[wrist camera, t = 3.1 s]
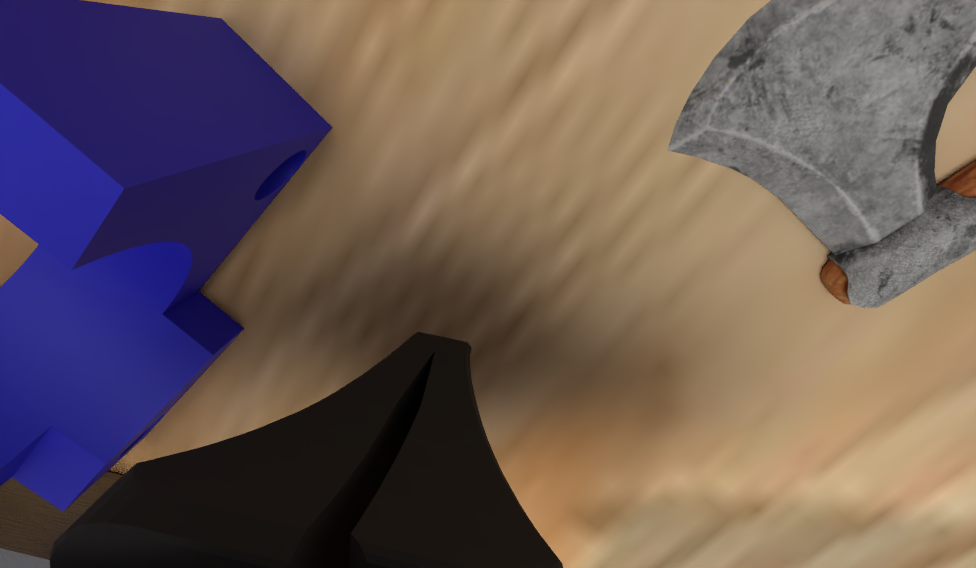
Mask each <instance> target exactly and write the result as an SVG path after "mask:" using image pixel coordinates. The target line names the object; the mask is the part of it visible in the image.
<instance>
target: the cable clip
mask: <svg viewBox="0 0 976 568" xmlns="http://www.w3.org/2000/svg"><path fill="white" fill-rule="evenodd" d="M331 128H332V127H331V126H330V125H329V124H328V123H327V122H326V121H325V120H324V119H323V118H322V117H321V116H320V115H319V114H318V113H317V112H316V111H315V110H314V109H313V108H312V107H311V106H310V105H309V104H308V103H307V102H306V101H305V100H304V99H303V98H302V97H301V96H300V95H299V94H298V93H297V92H296V91H295V90H294V89H293V88H292V87H291V86H290V85H289V84H288V83H286V82H285V81H284V80H283V79H282V78H281V77H280V76H279V75H278V74H277V73H276V72H275V71H274V70H273V69H272V68H271V67H270V66H269V65H268V64H267V63H266V62H265V61H264V60H263V59H262V58H261V57H260V56H259V55H258V54H257V53H256V52H255V51H254V50H253V49H252V48H251V47H250V46H249V45H248V44H247V43H246V42H245V41H244V40H243V39H242V38H241V37H240V36H239V35H238V34H237V33H235V32H234V31H233V30H232V29H231V28H230V27H229V26H228V25H227V24H226V23H225V22H224V21H223V20H222V19H220V18H213V17H205V16H197V15H190V14H182V13H174V12H167V11H159V10H151V9H144V8H136V7H128V6H121V5H113V4H105V3H98V2H90V1H82V0H0V214H1V215H3V216H4V217H5V218H6V219H8V220H9V221H10V222H12V223H13V224H14V225H15V226H17V227H18V228H19V229H20V230H22V231H23V232H24V233H25V234H27V235H28V236H29V237H31V238H32V239H33V240H34V241H36V242H37V243H38V244H39V245H38V247H37V248H36V249H35V250H34V252H33V253H32V254H31V255H30V256H29V258H28V259H27V260H26V261H25V262H24V263H23V265H22V266H21V267H20V268H19V269H18V270H17V271H16V272H15V273H14V274H13V275H12V276H11V277H10V278H9V279H8V280H7V281H6V282H5V283H4V284H3V285H2V286H1V287H0V486H1V485H2V484H4V483H5V482H6V481H8V480H9V479H10V478H14V479H15V480H17V481H18V482H20V483H21V484H23V485H24V486H26V487H27V488H29V489H30V490H32V491H33V492H35V493H36V494H38V495H39V496H41V497H42V498H44V499H45V500H47V501H48V502H50V503H51V504H53V505H54V506H56V507H57V508H59V509H60V510H62V511H64V510H65V509H67V508H68V507H69V506H70V505H71V504H72V503H73V502H74V501H75V500H76V499H77V498H79V497H80V496H81V495H82V494H83V493H84V492H85V491H86V490H87V489H88V488H89V487H91V486H92V485H93V484H94V483H95V482H96V481H97V480H98V479H99V478H100V477H101V476H103V475H104V474H105V473H106V472H107V471H108V470H109V469H110V468H111V467H112V466H114V465H115V464H116V463H117V462H118V461H119V460H120V459H121V458H122V457H123V456H124V455H126V454H127V453H128V452H129V451H130V450H131V449H132V448H133V447H134V446H135V445H136V444H138V443H139V442H140V441H141V440H142V439H143V438H144V437H145V436H146V435H147V434H148V433H149V432H150V431H151V429H152V428H153V427H154V426H155V425H156V424H157V423H158V422H159V421H160V420H161V419H162V417H163V416H164V415H165V414H166V413H167V412H168V411H169V410H170V409H171V408H172V407H173V405H174V404H175V403H176V402H177V401H178V400H179V399H180V398H181V397H182V396H183V395H184V393H185V392H186V391H187V390H188V389H189V388H190V387H191V386H192V385H193V384H194V383H195V382H196V380H197V379H198V378H199V377H200V376H201V375H202V374H203V373H204V372H205V371H206V370H207V368H208V367H209V366H210V365H211V364H212V363H213V362H214V361H215V360H216V359H217V358H218V356H219V355H220V354H221V353H222V352H223V351H224V350H225V349H226V348H227V347H228V346H229V344H230V343H231V342H232V341H233V340H234V339H235V338H236V337H237V336H238V335H239V334H240V332H241V331H242V330H243V329H244V328H243V327H241V326H240V325H239V324H238V323H237V322H235V321H234V320H233V319H232V318H231V317H229V316H228V315H227V314H226V313H224V312H223V311H222V310H221V309H220V308H218V307H217V306H216V305H215V304H214V303H212V302H211V301H210V300H209V299H207V298H206V297H205V296H204V295H203V294H201V293H200V292H199V290H200V288H201V287H202V286H203V285H204V284H205V282H206V281H207V280H208V279H209V278H210V276H211V275H212V274H213V273H214V271H215V270H216V269H217V268H218V267H219V265H220V264H221V263H222V262H223V260H224V259H225V258H226V257H227V256H228V254H229V253H230V252H231V251H232V249H233V248H234V247H235V246H236V245H237V243H238V242H239V241H240V240H241V238H242V237H243V236H244V235H245V234H246V232H247V231H248V230H249V229H250V227H251V226H252V225H253V224H254V223H255V221H256V220H257V219H258V218H259V216H260V215H261V214H262V213H263V212H264V210H265V209H266V208H267V207H268V205H269V204H270V203H271V202H272V201H273V199H274V198H275V197H276V196H277V194H278V193H279V192H280V191H281V190H282V188H283V187H284V186H285V185H286V183H287V182H288V181H289V180H290V179H291V177H292V176H293V175H294V174H295V172H296V171H297V170H298V169H299V168H300V166H301V165H302V164H303V163H304V161H305V160H306V159H307V158H308V157H309V155H310V154H311V153H312V152H313V150H314V149H315V148H316V147H317V146H318V144H319V143H320V142H321V141H322V139H323V138H324V137H325V136H326V135H327V133H328V132H329V131H330V130H331Z"/></svg>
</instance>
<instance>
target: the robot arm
mask: <svg viewBox="0 0 976 568" xmlns="http://www.w3.org/2000/svg"><path fill="white" fill-rule="evenodd" d="M470 353H471V346H470V345H469V344H468V343H467V342H463V341H458V340H453V339H449V338H444V337H439V336H435V335H430V334H425V333H421V332H418V333H416V334H414V335H413V336H412V337H410V338H409V339H408V340H407V341H406V342H404V343H403V344H402V345H401V346H400V347H399V348H397V349H396V350H395V351H394V352H392V353H391V354H390V355H389V356H387V357H386V358H385V359H383V360H382V361H381V362H379V363H378V364H377V365H375V366H374V367H373V368H371V369H370V370H368V371H367V372H366V373H364V374H363V375H361V376H360V377H358V378H357V379H355V380H354V381H352V382H350V383H349V384H347V385H346V386H344V387H343V388H341V389H340V390H338V391H336V392H335V393H333V394H331V395H330V396H328V397H326V398H324V399H322V400H321V401H319V402H317V403H315V404H313V405H311V406H309V407H307V408H305V409H303V410H301V411H299V412H297V413H294V414H292V415H289V416H287V417H285V418H282V419H280V420H278V421H275V422H273V423H271V424H268V425H266V426H263V427H261V428H258V429H256V430H253V431H250V432H247V433H244V434H242V435H239V436H236V437H233V438H230V439H227V440H223V441H220V442H217V443H214V444H211V445H207V446H204V447H200V448H197V449H193V450H189V451H185V452H181V453H177V454H173V455H169V456H165V457H161V458H157V459H153V460H149V461H145V462H140V463H137V464H136V465H134V466H133V467H132V468H131V469H130V470H129V471H127V472H126V473H125V474H124V475H123V476H122V477H121V478H119V479H118V480H117V481H116V482H115V483H114V484H113V485H112V486H110V487H109V488H108V489H107V490H106V491H105V492H104V493H103V494H102V495H101V496H100V497H99V498H98V499H97V500H96V501H95V502H94V503H93V504H92V505H91V506H90V507H89V508H88V509H87V510H86V511H85V512H84V513H83V514H82V515H81V516H80V517H79V518H78V519H77V520H76V521H75V522H74V523H73V524H72V525H71V526H70V527H69V528H68V529H67V530H66V531H65V532H64V533H63V534H62V535H61V536H60V537H59V538H58V539H57V540H55V541H54V544H53V547H52V550H51V553H50V556H49V560H50V568H563V566H562V563H561V561H560V560H559V559H558V557H557V556H556V555H555V554H554V552H553V551H552V550H551V548H550V547H549V546H548V545H547V543H546V542H545V541H544V539H543V538H542V537H541V535H540V534H539V533H538V531H537V530H536V528H535V527H534V525H533V524H532V522H531V521H530V519H529V518H528V516H527V515H526V513H525V512H524V510H523V509H522V507H521V505H520V504H519V502H518V500H517V498H516V496H515V495H514V493H513V491H512V489H511V488H510V486H509V484H508V482H507V480H506V479H505V477H504V475H503V473H502V471H501V469H500V467H499V465H498V462H497V460H496V458H495V456H494V454H493V451H492V449H491V446H490V444H489V441H488V439H487V436H486V433H485V430H484V427H483V425H482V421H481V418H480V415H479V411H478V407H477V403H476V399H475V395H474V390H473V385H472V379H471V370H470Z"/></svg>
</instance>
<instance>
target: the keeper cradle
mask: <svg viewBox="0 0 976 568" xmlns="http://www.w3.org/2000/svg"><path fill="white" fill-rule="evenodd" d="M122 476H123V475H120V474H116V473H112V472H106V473H105V474H104V475H103V476H101V477H100V478H99V479H98V480H97V481H96V482H95V483H94V484H93V485H92V486H91V487H89V488H88V489H87V490H86V491H85V492H84V493H83V494H82V495H81V496H80V497H79V498H77V499H76V500H75V501H74V502H73V503H72V504H71V505H70V506H69V507H68V508H67V509H65V510H64V511H62V510H60V509H59V508H57V507H56V506H54V505H53V504H51V503H50V502H48V501H47V500H45V499H44V498H42V497H41V496H39V495H38V494H36V493H35V492H33V491H32V490H30V489H29V488H27V487H26V486H24V485H23V484H21V483H20V482H18V481H17V480H15V479H14V478H10V479H9V480H8V481H6V482H5V483H4V484H2V485H1V486H0V568H50V560H49V556H50V553H51V550H52V547H53V544H54V541H55V540H57V539H58V538H59V537H60V536H61V535H62V534H63V533H64V532H65V531H66V530H67V529H68V528H69V527H70V526H71V525H72V524H73V523H74V522H75V521H76V520H77V519H78V518H79V517H80V516H81V515H82V514H83V513H84V512H85V511H86V510H87V509H88V508H89V507H90V506H91V505H92V504H93V503H94V502H95V501H96V500H97V499H98V498H99V497H100V496H101V495H102V494H103V493H104V492H105V491H106V490H107V489H108V488H109V487H110V486H112V485H113V484H114V483H115V482H116V481H117V480H118V479H119V478H121V477H122Z"/></svg>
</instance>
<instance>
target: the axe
mask: <svg viewBox="0 0 976 568" xmlns="http://www.w3.org/2000/svg"><path fill="white" fill-rule="evenodd" d="M975 66H976V0H771V1H770V2H769V3H767V4H766V5H765V6H764V7H762V8H761V9H760V10H759V11H758V12H756V13H755V14H754V15H752V16H751V17H750V18H749V19H748V20H747V21H746V22H745V24H744V25H743V26H742V27H741V28H740V29H739V30H738V31H737V33H736V34H735V35H734V36H733V37H732V38H731V39H730V41H729V42H728V43H727V44H726V45H725V46H724V47H723V49H722V50H721V51H720V52H719V53H718V54H717V55H716V56H715V57H714V59H713V60H712V62H711V63H710V65H709V67H708V68H707V70H706V71H705V73H704V74H703V76H702V77H701V79H700V80H699V82H698V83H697V85H696V86H695V88H694V89H693V91H692V92H691V94H690V96H689V98H688V100H687V102H686V104H685V106H684V108H683V110H682V112H681V114H680V116H679V118H678V120H677V123H676V125H675V128H674V131H673V135H672V138H671V141H670V144H669V147H668V151H673V152H677V153H681V154H686V155H691V156H695V157H700V158H702V159H704V160H707V161H710V162H713V163H716V164H719V165H722V166H726V167H729V168H732V169H734V170H736V171H738V172H740V173H742V174H744V175H746V176H748V177H750V178H752V179H754V180H755V181H756V182H758V183H759V184H761V185H762V186H763V187H765V188H766V189H768V190H769V191H770V192H772V193H773V194H775V195H776V196H777V197H779V198H780V199H781V200H782V201H783V202H784V203H785V204H786V205H787V206H788V207H789V208H790V209H791V210H792V211H793V212H794V213H795V214H796V215H797V216H798V217H799V218H800V219H801V220H802V221H803V223H804V224H805V225H806V226H807V227H808V228H809V229H810V230H811V231H812V232H813V233H814V234H815V235H816V236H817V237H818V238H819V239H820V240H821V241H822V242H823V243H824V244H825V245H826V246H827V247H828V248H829V249H830V250H831V251H832V253H831V254H830V255H828V256H827V258H828V259H829V261H828V263H827V264H826V265H825V267H824V268H823V270H822V272H821V280H822V282H823V284H824V286H825V287H826V288H827V289H828V290H829V291H830V293H831V294H832V295H833V296H834V297H835V298H836V299H838V300H839V301H841V302H843V303H844V304H850V305H853V306H858V307H862V308H877V307H879V306H881V305H883V304H885V303H887V302H888V301H890V300H892V299H894V298H895V297H897V296H899V295H901V294H902V293H904V292H905V291H907V290H909V289H910V288H912V287H913V286H915V285H917V284H918V283H920V282H921V281H923V280H924V279H926V278H928V277H929V276H931V275H932V274H934V273H936V272H937V271H939V270H941V269H943V268H944V267H946V266H948V265H950V264H951V263H953V262H955V261H957V260H959V259H961V258H962V257H964V256H966V255H968V254H970V253H971V252H973V251H975V250H976V161H975V162H973V163H972V164H970V165H968V166H967V167H965V168H964V169H962V170H961V171H959V172H957V173H956V174H954V175H953V176H951V177H950V178H948V179H947V180H945V181H944V182H942V183H940V184H939V185H937V186H936V180H935V173H934V168H935V149H936V139H937V136H938V133H939V130H940V127H941V123H942V120H943V117H944V114H945V111H946V108H947V105H948V103H949V102H950V100H951V99H952V98H953V96H954V95H955V93H956V92H957V91H958V89H959V88H960V87H961V85H962V84H963V83H964V81H965V80H966V79H967V77H968V76H969V75H970V73H971V72H972V70H973V69H974V68H975Z"/></svg>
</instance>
